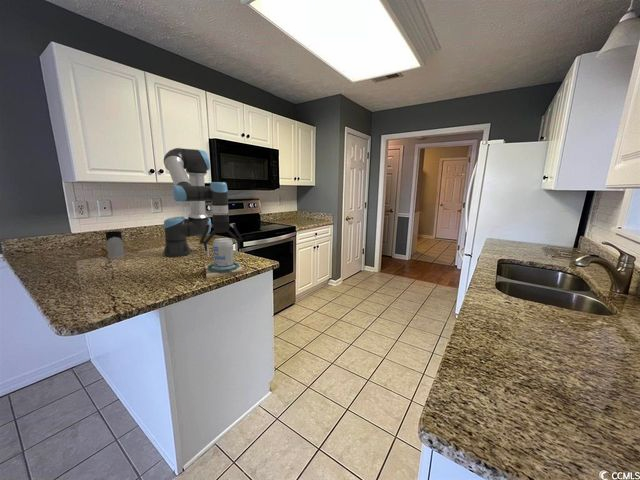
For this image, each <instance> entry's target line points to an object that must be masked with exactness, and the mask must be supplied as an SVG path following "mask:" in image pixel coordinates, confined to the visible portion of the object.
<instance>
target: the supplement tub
mask: <svg viewBox="0 0 640 480" xmlns="http://www.w3.org/2000/svg"><path fill="white" fill-rule="evenodd" d="M212 252H213V255H212V256H213V263H214V268H215V269H220V270H221V269H229V268H233V266H234V262H235V261H234V241H233V239H232V238H228V237H227V238H226V237H225V238H224V237H223V238H221V237H220V238H215V239H213V240H212Z"/></svg>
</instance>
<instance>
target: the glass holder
mask: <svg viewBox="0 0 640 480" xmlns="http://www.w3.org/2000/svg"><path fill="white" fill-rule="evenodd" d="M104 234H105V242H106V250H107V254H108V255H107V258H108V259H118V258H120V259H121V258H124V257H126V254H125V246H124V241H123V236H122V235H123V234H122V232H121V231H120V230H115V231H114V230H113V231H106V232H104Z"/></svg>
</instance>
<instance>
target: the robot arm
mask: <svg viewBox="0 0 640 480" xmlns="http://www.w3.org/2000/svg"><path fill="white" fill-rule="evenodd" d="M163 165H164V167H165V169H166V170H167V171H168V172H169V175H170V179H171V180H172V183H173V186H172V190H171V192H172V198H173V200H174V201H175V202H182V203H183V202H184V203H185V202H190V203H189V204H190V206H189V207H190V213H189V214H188V216H187V218H185V216H175V217H169V218H166V219H165V220H164V221H163V229H164V239H165V243H164V244H165V245H164V248H163V252H162V253H163V256H164V257H166V258H167V257H168V258H177V257H184V256H188V255H190V254H191V249H190V245H189V244H188V242H187V238H189V237H190V238H191V237H201V239H200V240H199V243H200V244H202V245H203V247H204V251H206V255H207V258H210V249H209V247H210V246H209V241H211V240H212V238H213V237H214V236H215V235H216V234H217V233H218V234H221V233H222V234H223V233H228V234H229V235H230V237H232V238H233V239H234V240H235V242H234V245H235V255H236V256H238V255H239V251H238V249H240V242H243V241H244V239H243V237H242V235H241V234H240V231H239V229H237V228H238V227H237V226H236V225H237V224H236V223H235V222H232V223H230V218H229V197H228V196H229V195H228V192H229V191H228V185H227V182H224V181H223V182H221V181H218V182H217V181H216V182H215V181H212V182H210V184H209V185H205V176H206V175H207V173H208V171H210V169H211V162H210V157H209V155H208V153H207V151H205V150H203V149H192V148H182V147H175V148H173V149H170V150H169V151H167V152H166V153H165V155H164V156H163ZM206 202H211V213H212V216H211V217H212V220H211V218H210V217H209V215H208V214H207V213H206ZM230 228H232V229H233V230H234V232H235V233H236V235H237V236H235V234H233V232H231V230H230ZM211 229H213V230H212V232H211ZM207 236H208V237H207ZM237 237H238V238H237Z"/></svg>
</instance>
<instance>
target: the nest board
mask: <svg viewBox="0 0 640 480" xmlns="http://www.w3.org/2000/svg"><path fill="white" fill-rule="evenodd" d="M204 266H205V274H206V275H205V278H206V279H211V278H219V277H228V276H236V275H243V274H244V273H245V272H244V269H243V267H242V266H241V264H240V262H239V261H234V266H233V268H229V269H221V270H220V269H215V268H214V262H213V263H211V264H205V265H204Z"/></svg>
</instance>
